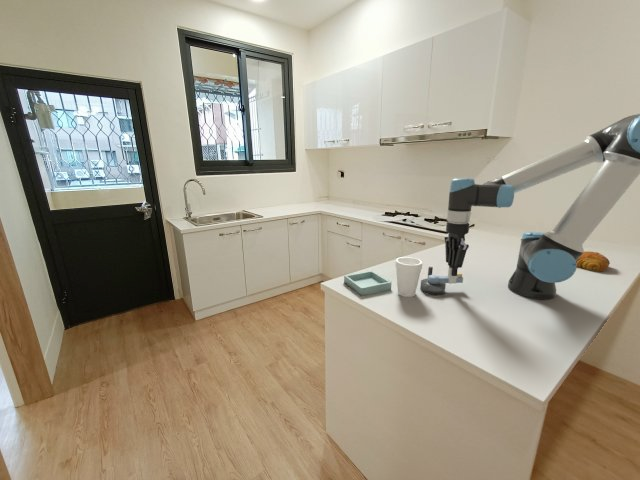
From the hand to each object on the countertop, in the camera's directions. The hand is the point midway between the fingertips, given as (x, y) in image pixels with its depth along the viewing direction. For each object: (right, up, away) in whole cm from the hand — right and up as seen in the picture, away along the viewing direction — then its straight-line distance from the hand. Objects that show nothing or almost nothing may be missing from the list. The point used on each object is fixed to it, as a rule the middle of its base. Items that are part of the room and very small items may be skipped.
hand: (451, 282), depth 112 cm
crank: (-2, 0, +2) cm, 3 cm away
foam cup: (-17, -4, 0) cm, 18 cm away
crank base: (-7, -3, +4) cm, 8 cm away
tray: (-31, -2, +7) cm, 32 cm away
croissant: (+77, +4, +28) cm, 82 cm away
